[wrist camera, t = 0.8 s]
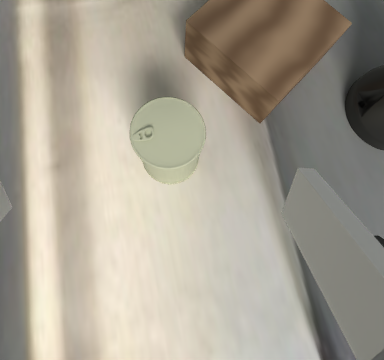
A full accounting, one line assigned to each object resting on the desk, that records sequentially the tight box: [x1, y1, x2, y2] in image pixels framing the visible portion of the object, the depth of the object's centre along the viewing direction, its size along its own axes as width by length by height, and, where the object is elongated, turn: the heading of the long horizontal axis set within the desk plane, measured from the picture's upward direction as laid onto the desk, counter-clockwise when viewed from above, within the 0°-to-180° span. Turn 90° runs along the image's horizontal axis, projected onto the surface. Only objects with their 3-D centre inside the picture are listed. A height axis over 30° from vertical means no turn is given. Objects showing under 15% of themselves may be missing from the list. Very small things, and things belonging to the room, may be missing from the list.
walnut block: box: [185, 0, 352, 123], centre depth 40 cm, size 18×18×8 cm
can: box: [130, 97, 206, 184], centre depth 34 cm, size 9×9×12 cm
